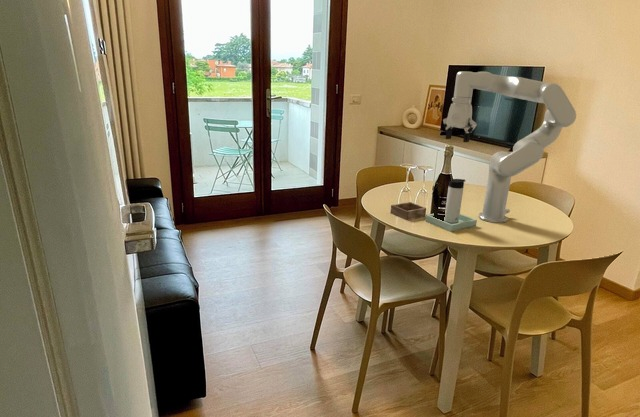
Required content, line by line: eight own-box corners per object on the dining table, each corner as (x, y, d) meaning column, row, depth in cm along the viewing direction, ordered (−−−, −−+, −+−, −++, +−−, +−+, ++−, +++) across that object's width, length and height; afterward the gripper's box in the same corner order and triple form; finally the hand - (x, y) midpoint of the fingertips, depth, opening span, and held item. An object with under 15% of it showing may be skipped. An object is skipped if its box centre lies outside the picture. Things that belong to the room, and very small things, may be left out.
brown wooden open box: (409, 209, 207) (410, 201, 205) (425, 216, 198) (426, 208, 196) (390, 213, 200) (391, 205, 199) (406, 220, 192) (407, 211, 190)
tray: (449, 216, 199) (450, 210, 198) (475, 226, 187) (476, 219, 186) (425, 221, 191) (426, 215, 190) (450, 232, 179) (451, 225, 178)
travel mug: (459, 225, 185) (466, 181, 179) (444, 224, 187) (450, 180, 180) (458, 221, 191) (464, 178, 185) (443, 219, 192) (449, 177, 186)
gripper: (440, 99, 189) (436, 138, 194) (473, 102, 175) (467, 143, 180) (451, 99, 193) (447, 137, 198) (484, 102, 179) (478, 142, 185)
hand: (457, 140), depth 189 cm, fingers open, 9 cm apart
